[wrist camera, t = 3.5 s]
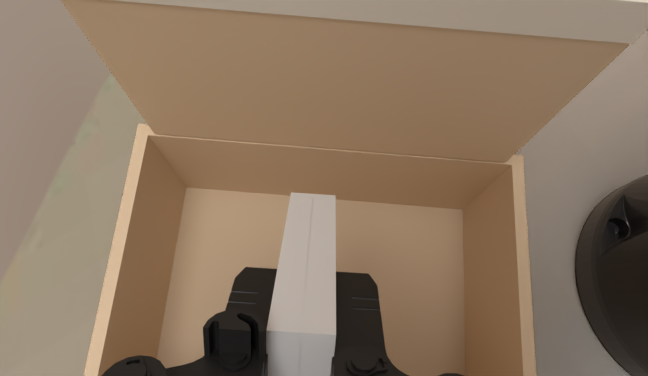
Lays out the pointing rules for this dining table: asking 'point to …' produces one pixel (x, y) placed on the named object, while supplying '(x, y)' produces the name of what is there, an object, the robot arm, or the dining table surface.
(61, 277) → the dining table surface
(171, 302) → the light wood open box
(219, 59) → the light wood flat panel
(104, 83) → the dining table surface
